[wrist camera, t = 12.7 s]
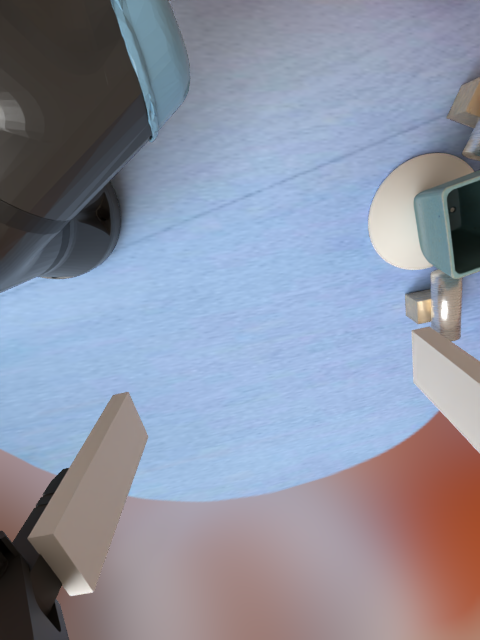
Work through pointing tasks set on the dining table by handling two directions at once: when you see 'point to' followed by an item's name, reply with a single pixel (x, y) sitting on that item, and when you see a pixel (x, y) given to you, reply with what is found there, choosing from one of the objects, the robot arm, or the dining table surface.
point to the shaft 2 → (468, 115)
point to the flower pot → (451, 225)
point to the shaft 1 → (438, 305)
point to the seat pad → (408, 207)
